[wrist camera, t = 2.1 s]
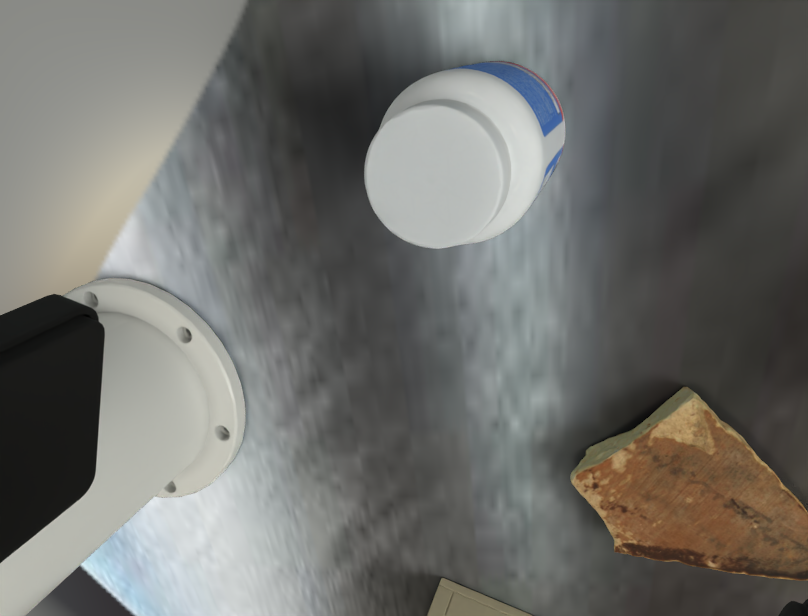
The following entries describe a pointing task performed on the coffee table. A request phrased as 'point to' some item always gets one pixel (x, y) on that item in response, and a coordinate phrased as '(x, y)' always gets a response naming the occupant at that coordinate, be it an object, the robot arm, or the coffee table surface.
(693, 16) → the coffee table surface
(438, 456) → the coffee table surface
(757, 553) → the shard
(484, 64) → the pill bottle
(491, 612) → the open box
